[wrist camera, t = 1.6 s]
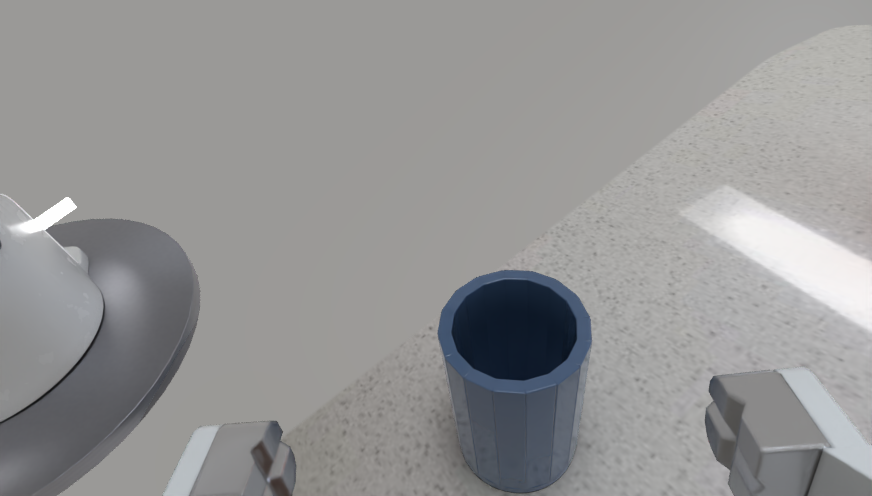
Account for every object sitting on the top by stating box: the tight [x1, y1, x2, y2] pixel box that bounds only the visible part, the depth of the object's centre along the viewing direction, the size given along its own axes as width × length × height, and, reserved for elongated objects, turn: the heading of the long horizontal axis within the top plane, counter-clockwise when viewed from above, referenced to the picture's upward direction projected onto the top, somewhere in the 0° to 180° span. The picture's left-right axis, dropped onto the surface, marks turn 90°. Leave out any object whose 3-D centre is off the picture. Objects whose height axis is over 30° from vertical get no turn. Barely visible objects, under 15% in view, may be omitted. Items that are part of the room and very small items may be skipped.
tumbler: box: [438, 270, 592, 493], centre depth 26 cm, size 6×6×10 cm
